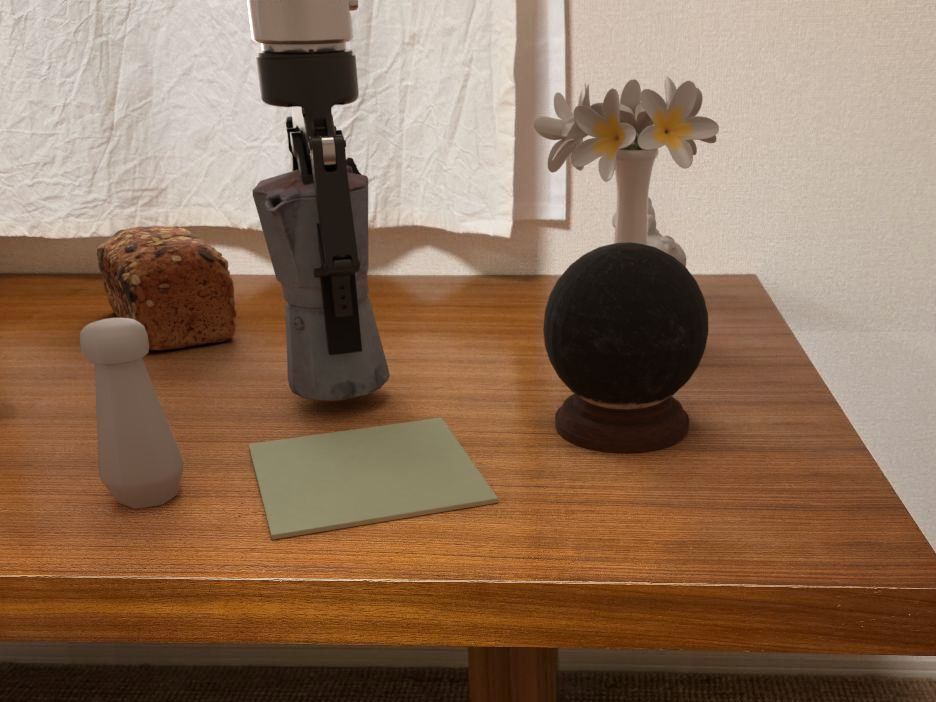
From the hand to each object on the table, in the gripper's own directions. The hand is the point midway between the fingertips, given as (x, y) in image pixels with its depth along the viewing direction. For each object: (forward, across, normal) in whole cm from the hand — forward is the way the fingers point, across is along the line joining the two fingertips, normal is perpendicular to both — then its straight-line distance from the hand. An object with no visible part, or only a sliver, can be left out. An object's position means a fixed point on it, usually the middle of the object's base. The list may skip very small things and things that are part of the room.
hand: (335, 334), depth 88 cm
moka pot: (+5, 0, 0) cm, 5 cm away
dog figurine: (+6, +20, -39) cm, 45 cm away
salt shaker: (+6, -14, +17) cm, 23 cm away
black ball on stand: (+6, -14, -21) cm, 26 cm away
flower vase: (+6, +4, -29) cm, 30 cm away
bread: (+6, +28, +14) cm, 32 cm away
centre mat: (+6, -16, +1) cm, 17 cm away
